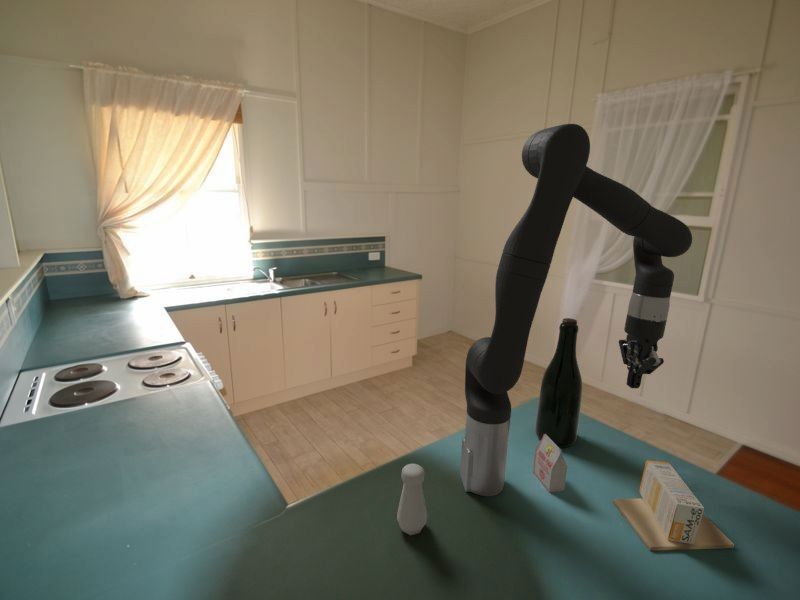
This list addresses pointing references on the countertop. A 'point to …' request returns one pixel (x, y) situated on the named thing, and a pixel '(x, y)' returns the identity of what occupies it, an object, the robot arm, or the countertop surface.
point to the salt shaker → (412, 500)
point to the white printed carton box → (550, 465)
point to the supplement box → (671, 502)
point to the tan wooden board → (654, 536)
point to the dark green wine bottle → (561, 390)
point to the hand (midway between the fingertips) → (632, 386)
